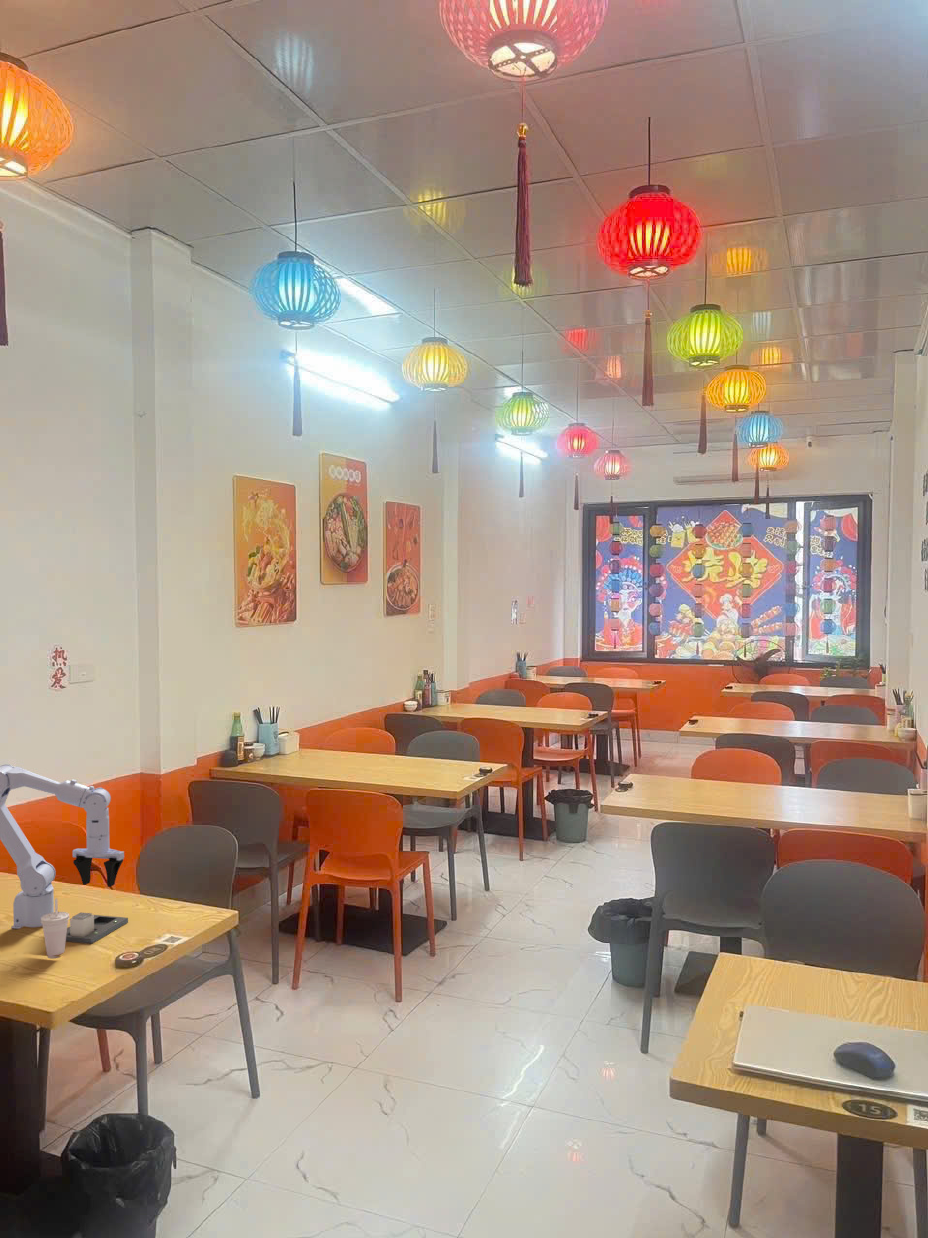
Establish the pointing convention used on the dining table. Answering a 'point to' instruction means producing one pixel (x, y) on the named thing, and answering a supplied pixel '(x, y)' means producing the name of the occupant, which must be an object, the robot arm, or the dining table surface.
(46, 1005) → the dining table surface
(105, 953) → the dining table surface
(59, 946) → the smoothie
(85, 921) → the beige rectangular block
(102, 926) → the panel
